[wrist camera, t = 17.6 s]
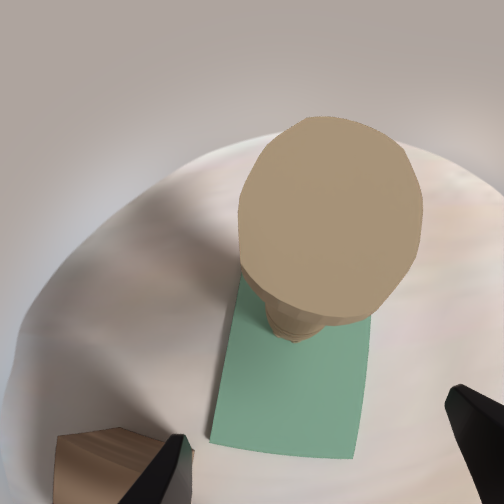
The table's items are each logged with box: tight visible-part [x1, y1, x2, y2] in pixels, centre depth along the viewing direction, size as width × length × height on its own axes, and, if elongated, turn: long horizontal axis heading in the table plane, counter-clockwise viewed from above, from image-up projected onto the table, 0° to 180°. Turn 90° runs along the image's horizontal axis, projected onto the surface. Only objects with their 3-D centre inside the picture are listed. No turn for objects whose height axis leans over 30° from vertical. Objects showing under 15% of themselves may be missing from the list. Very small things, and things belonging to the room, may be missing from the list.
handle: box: [238, 117, 423, 343], centre depth 14 cm, size 5×6×15 cm
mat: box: [209, 274, 371, 459], centre depth 20 cm, size 14×10×1 cm
